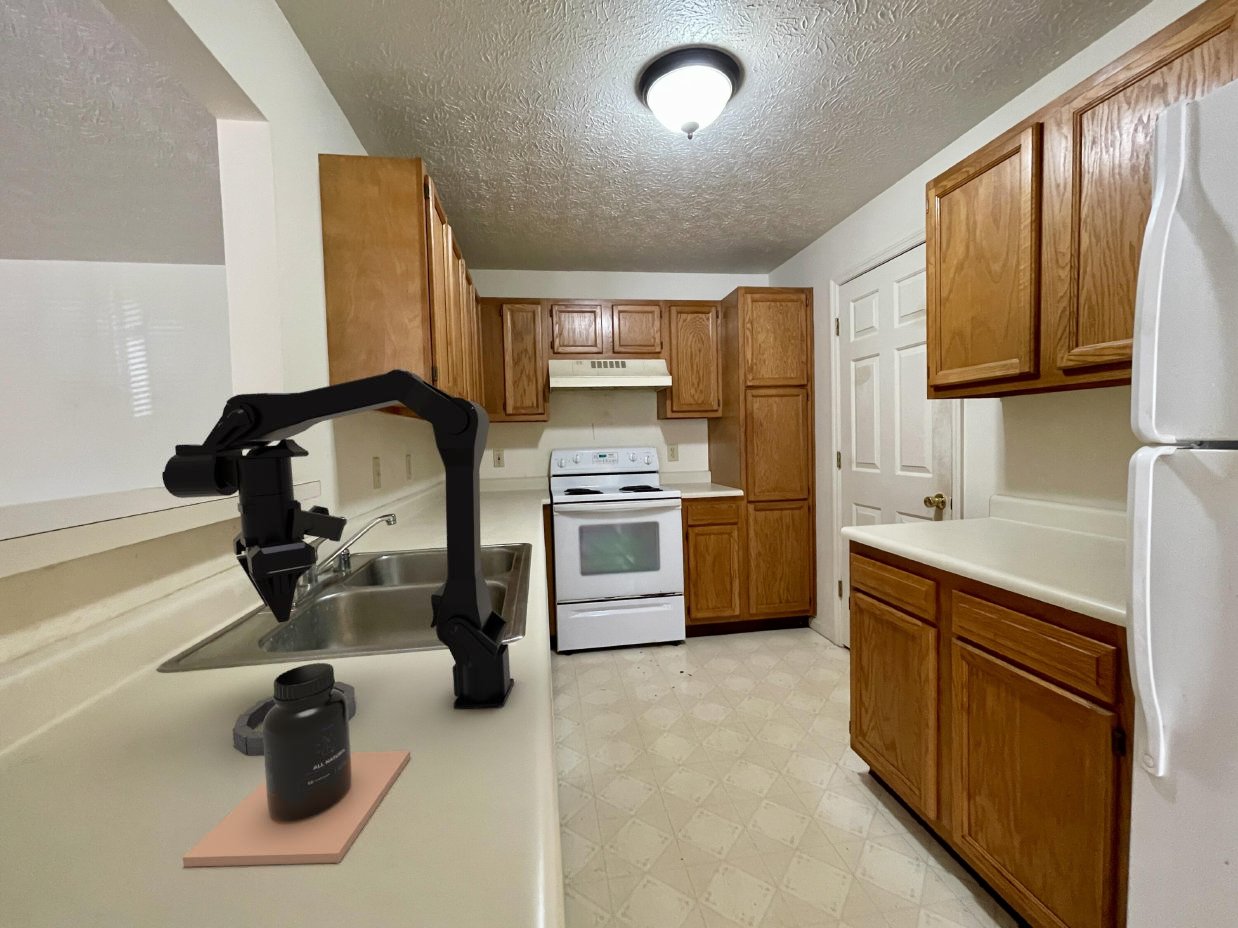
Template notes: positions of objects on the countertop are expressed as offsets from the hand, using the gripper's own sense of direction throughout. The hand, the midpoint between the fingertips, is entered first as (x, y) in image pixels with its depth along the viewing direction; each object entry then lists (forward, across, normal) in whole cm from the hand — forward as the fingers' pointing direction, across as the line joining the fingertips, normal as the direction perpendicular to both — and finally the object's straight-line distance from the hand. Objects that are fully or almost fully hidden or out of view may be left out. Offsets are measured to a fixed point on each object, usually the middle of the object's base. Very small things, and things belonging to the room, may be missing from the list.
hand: (276, 613), depth 63 cm
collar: (+13, -5, -1) cm, 14 cm away
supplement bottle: (+12, -22, +1) cm, 26 cm away
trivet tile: (+13, -23, +1) cm, 26 cm away
